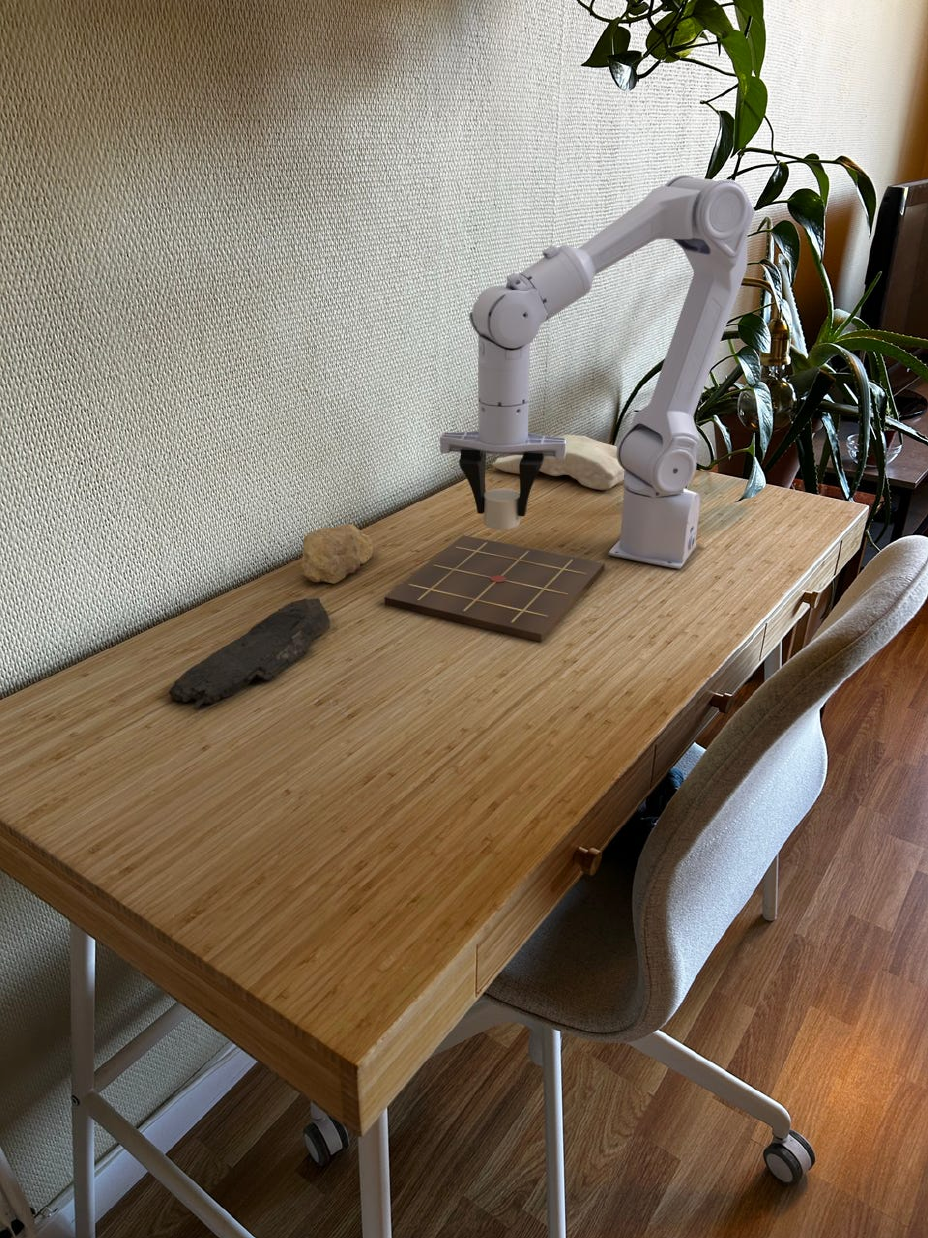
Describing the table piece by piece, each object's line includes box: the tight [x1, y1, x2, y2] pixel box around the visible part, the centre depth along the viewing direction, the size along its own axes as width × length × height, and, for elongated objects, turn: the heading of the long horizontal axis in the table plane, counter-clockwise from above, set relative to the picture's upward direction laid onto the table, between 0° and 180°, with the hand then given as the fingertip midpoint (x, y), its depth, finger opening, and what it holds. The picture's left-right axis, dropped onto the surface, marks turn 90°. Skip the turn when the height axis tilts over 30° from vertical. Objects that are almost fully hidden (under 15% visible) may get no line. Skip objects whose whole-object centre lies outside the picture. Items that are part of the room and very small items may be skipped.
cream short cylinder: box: [483, 487, 521, 531], centre depth 109 cm, size 4×4×4 cm
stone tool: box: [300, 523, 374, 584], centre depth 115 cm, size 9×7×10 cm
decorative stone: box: [491, 434, 625, 491], centre depth 146 cm, size 21×5×15 cm
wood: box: [168, 597, 331, 710], centre depth 96 cm, size 22×7×3 cm, turn 150°
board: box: [383, 534, 606, 643], centre depth 111 cm, size 20×20×1 cm
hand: (502, 511), depth 110 cm, fingers closed on cream short cylinder, 4 cm apart
